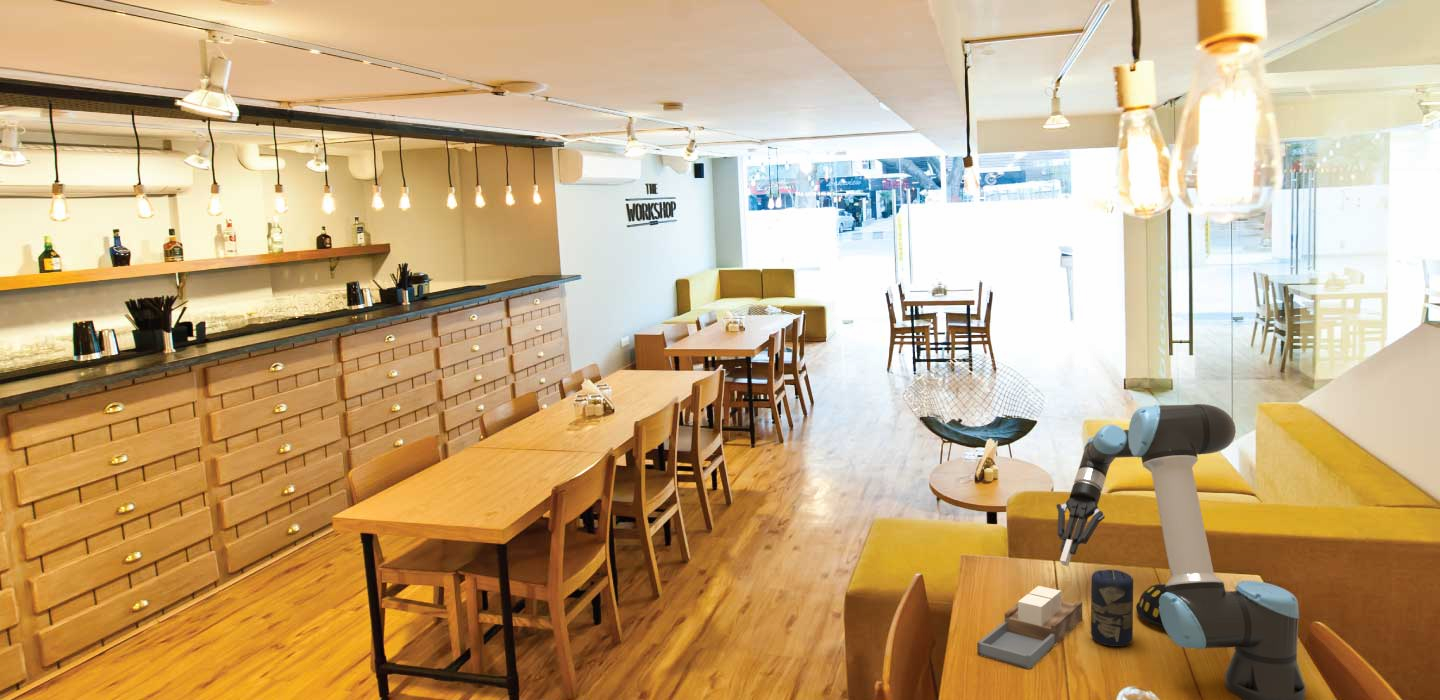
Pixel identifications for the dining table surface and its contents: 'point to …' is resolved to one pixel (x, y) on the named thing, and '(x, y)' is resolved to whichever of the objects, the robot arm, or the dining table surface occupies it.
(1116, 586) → the canister
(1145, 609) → the yellow spotted black dome
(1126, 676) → the dining table surface
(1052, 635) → the tray
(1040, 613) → the block
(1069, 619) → the board
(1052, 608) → the block
